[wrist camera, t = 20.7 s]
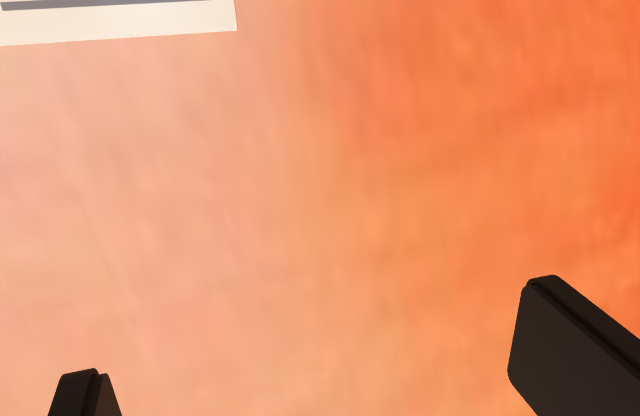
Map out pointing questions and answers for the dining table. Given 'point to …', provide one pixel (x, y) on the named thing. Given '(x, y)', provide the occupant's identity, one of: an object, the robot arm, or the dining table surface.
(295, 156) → the dining table surface
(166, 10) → the letter
